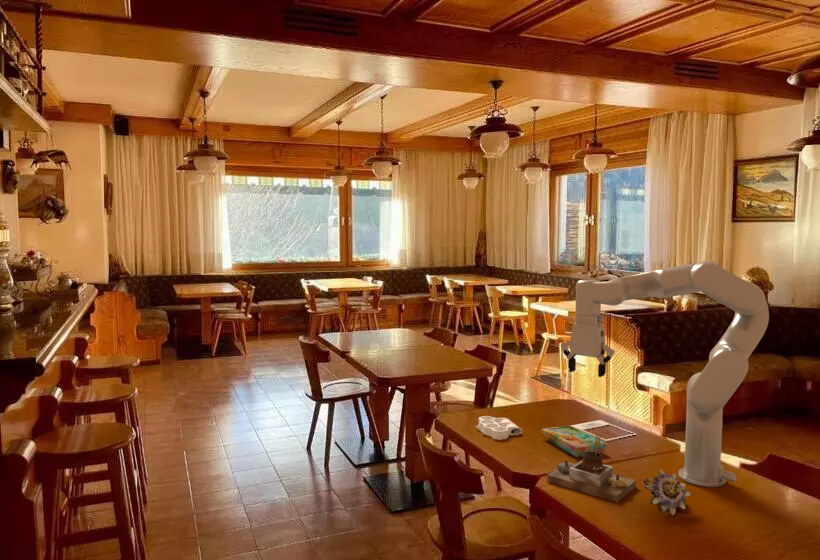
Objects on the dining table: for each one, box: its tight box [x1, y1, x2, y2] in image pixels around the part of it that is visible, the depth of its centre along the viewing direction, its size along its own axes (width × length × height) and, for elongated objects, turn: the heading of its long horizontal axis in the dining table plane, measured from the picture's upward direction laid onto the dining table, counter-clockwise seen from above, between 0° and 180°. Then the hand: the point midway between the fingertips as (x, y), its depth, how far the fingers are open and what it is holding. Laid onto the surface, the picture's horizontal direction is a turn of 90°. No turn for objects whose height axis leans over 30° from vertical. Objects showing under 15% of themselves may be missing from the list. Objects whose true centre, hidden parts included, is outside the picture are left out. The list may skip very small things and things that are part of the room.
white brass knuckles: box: [475, 415, 523, 441], centre depth 224 cm, size 3×18×15 cm
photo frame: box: [571, 419, 637, 443], centre depth 224 cm, size 15×1×18 cm
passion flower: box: [643, 468, 692, 516], centre depth 163 cm, size 11×11×12 cm
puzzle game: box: [541, 425, 607, 458], centre depth 208 cm, size 12×5×20 cm
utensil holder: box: [581, 433, 604, 475], centre depth 176 cm, size 6×6×12 cm
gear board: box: [546, 459, 637, 503], centre depth 177 cm, size 21×13×5 cm, turn 49°
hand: (586, 373), depth 192 cm, fingers open, 9 cm apart
